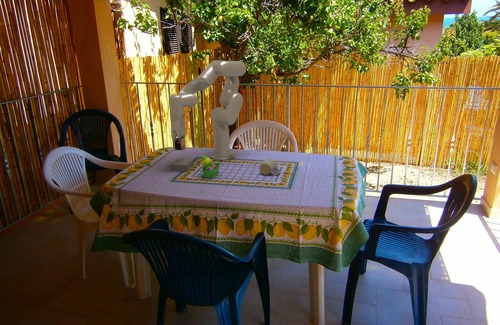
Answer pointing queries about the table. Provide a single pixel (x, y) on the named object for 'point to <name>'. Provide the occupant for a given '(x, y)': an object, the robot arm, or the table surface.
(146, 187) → the table surface
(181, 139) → the terracotta block
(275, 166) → the ceramic mug
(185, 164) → the charcoal base
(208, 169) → the green bird basket
